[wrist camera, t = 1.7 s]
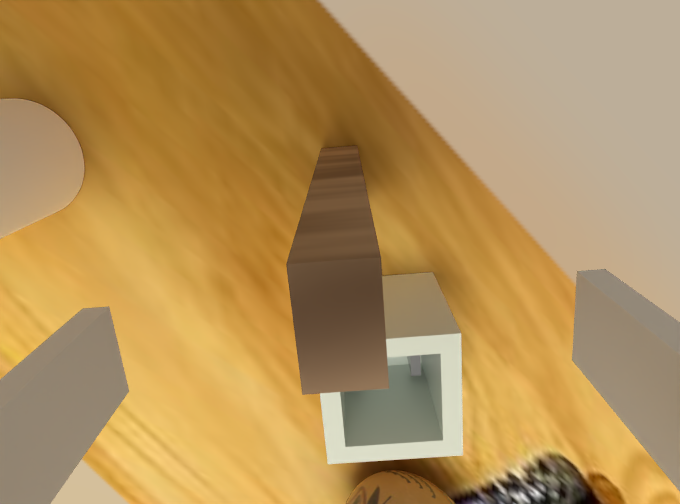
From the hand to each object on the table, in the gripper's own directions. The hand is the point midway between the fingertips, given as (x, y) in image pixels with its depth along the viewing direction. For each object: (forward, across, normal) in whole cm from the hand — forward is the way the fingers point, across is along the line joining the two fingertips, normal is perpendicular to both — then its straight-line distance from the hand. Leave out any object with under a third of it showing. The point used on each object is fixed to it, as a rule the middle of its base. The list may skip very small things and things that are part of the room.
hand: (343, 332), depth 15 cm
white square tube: (+24, +2, -12) cm, 26 cm away
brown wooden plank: (+24, 0, 0) cm, 24 cm away
